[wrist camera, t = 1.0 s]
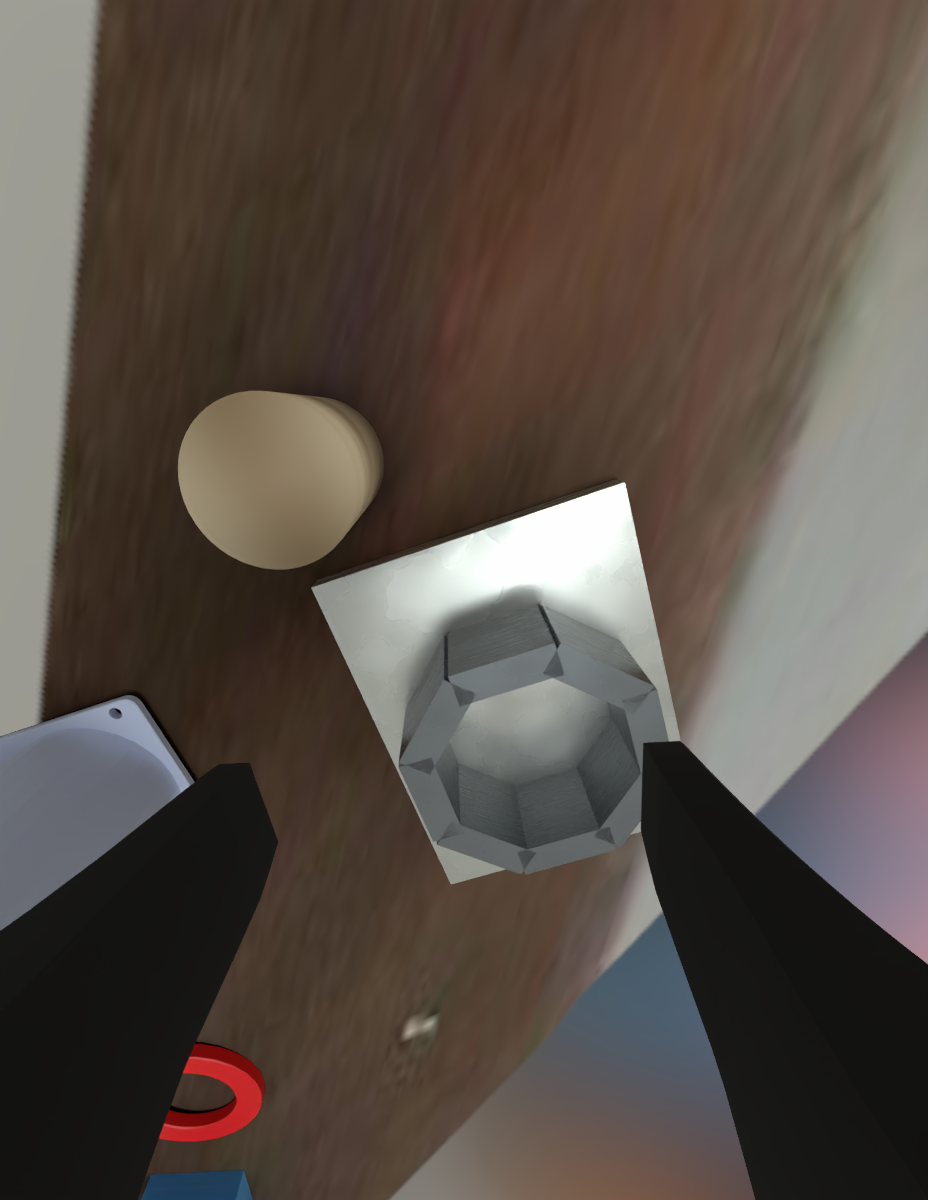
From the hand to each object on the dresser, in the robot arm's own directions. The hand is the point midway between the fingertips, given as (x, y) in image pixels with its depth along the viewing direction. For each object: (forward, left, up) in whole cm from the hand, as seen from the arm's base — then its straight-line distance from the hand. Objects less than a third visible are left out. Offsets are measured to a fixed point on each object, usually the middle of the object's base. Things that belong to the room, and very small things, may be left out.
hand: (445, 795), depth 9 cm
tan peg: (-3, +6, -12) cm, 13 cm away
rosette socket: (+1, -6, -12) cm, 13 cm away
